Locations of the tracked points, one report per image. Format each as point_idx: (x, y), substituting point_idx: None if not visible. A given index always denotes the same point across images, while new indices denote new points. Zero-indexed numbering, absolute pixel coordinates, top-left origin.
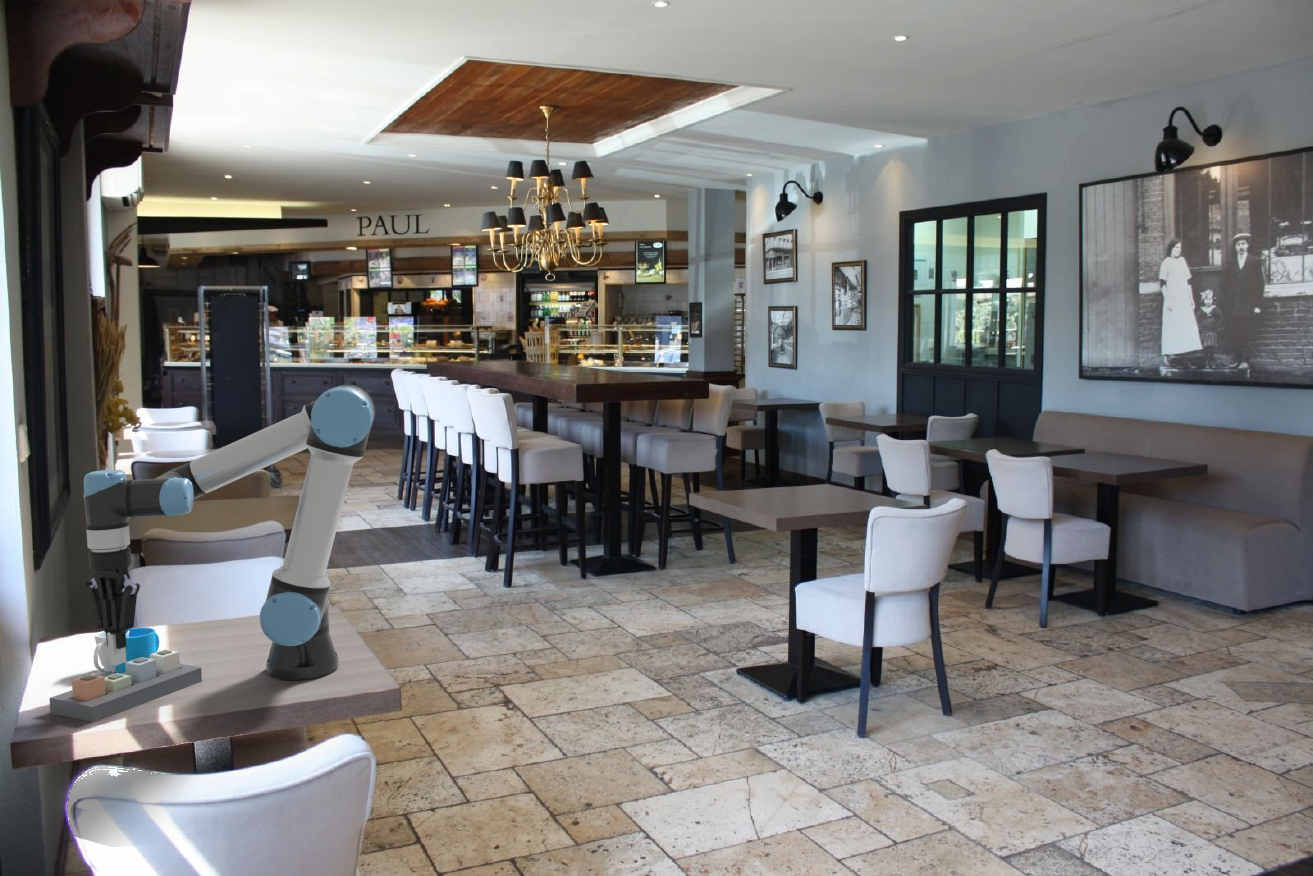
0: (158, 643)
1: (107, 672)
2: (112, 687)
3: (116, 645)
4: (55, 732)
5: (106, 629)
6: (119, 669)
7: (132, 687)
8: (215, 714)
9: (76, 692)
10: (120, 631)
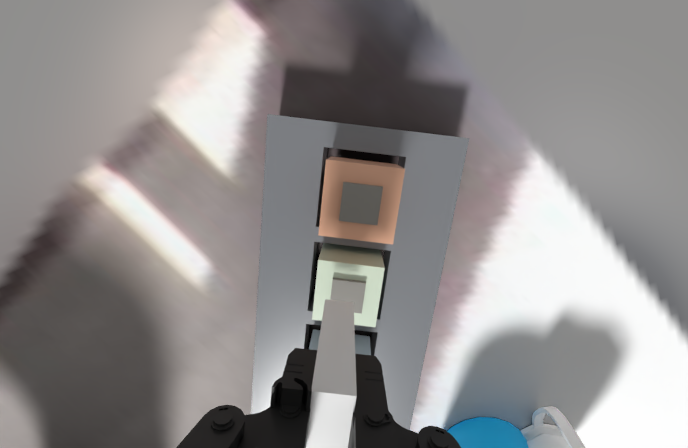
0: None
1: (532, 417)
2: (327, 253)
3: (314, 359)
4: (316, 17)
5: (363, 417)
6: (499, 428)
7: (294, 288)
8: (42, 260)
9: (380, 163)
10: (258, 416)
